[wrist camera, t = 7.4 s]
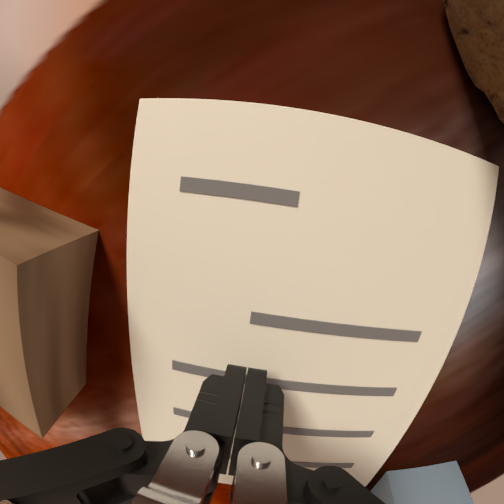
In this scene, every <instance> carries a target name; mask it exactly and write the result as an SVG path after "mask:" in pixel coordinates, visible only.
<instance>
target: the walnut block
mask: <svg viewBox="0 0 504 504" xmlns="http://www.w3.org/2000/svg"><path fill="white" fill-rule="evenodd" d="M98 232H99V230H97V229H95V228H92V227H90V226H87V225H85V224H83V223H80V222H78V221H75V220H73V219H71V218H68V217H66V216H64V215H61V214H59V213H57V212H54V211H52V210H50V209H47V208H45V207H43V206H40V205H38V204H36V203H34V202H31V201H29V200H27V199H25V198H22V197H20V196H18V195H16V194H13V193H11V192H9V191H7V190H5V189H2V188H0V406H1V407H2V408H3V409H4V410H5V411H7V412H8V413H9V414H10V415H12V416H13V417H14V418H15V419H17V420H18V421H19V422H21V423H22V424H23V425H25V426H26V427H27V428H29V429H30V430H31V431H33V432H34V433H36V434H37V435H38V436H40V437H41V438H43V437H44V436H45V434H46V433H47V432H48V431H49V429H50V428H51V427H52V425H53V424H54V423H55V422H56V420H57V419H58V418H59V417H60V415H61V414H62V413H63V412H64V410H65V409H66V408H67V407H68V405H69V404H70V403H71V402H72V401H73V399H74V398H75V397H76V396H77V394H78V393H79V392H80V391H81V390H82V388H83V387H84V386H85V385H86V357H87V329H88V314H89V301H90V291H91V281H92V273H93V265H94V258H95V251H96V245H97V238H98Z"/></svg>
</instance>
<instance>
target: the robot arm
mask: <svg viewBox="0 0 504 504" xmlns="http://www.w3.org/2000/svg"><path fill="white" fill-rule="evenodd" d="M246 370H247V367H243V366H237V365H232V364H228V365H227V368H226V372H225V375H224V376H220V375H215V374H211V375H210V376H209V377H208V378H206V379H205V380H204V381H203V383H202V386H201V388H200V391H199V393H198V396H197V399H196V401H195V404H194V406H193V409H192V412H191V414H190V417H189V419H188V422H187V425H186V427H185V429H184V431H183V432H182V433H181V434H179V435H177V436H176V437H175V438H174V439H172V440H169V441H144V439H143V437H142V436H141V435H140V434H139V433H137V432H136V431H134V430H131V429H128V428H115V429H112V430H109V431H106V432H103V433H100V434H97V435H94V436H91V437H88V438H85V439H82V440H79V441H75V442H72V443H69V444H65V445H62V446H59V447H55V448H51V449H48V450H44V451H40V452H36V453H32V454H28V455H24V456H19V457H15V458H10V459H6V460H1V461H0V504H210V503H211V500H212V497H213V494H214V491H215V489H216V487H217V484H218V479H219V475H220V474H225V475H226V473H227V468H228V463H229V459H230V454H231V449H232V454H231V460H230V466H229V472H228V475H231V476H234V477H233V482H232V487H231V492H230V499H229V504H385V503H384V502H383V501H382V500H380V499H379V498H378V497H377V496H375V495H374V494H373V493H372V492H371V491H369V490H368V489H367V488H366V487H365V486H363V485H362V484H361V483H360V482H359V481H357V480H356V479H355V478H354V477H353V476H352V475H351V474H349V473H348V472H347V471H346V470H344V469H342V468H340V467H336V466H322V467H319V468H317V469H316V470H310V469H307V468H304V467H301V466H299V465H296V464H295V463H293V462H292V461H290V460H289V459H288V458H287V457H286V455H285V454H284V451H283V447H282V442H283V419H284V415H283V414H284V393H283V392H282V390H281V388H280V386H279V385H274V384H267V383H266V379H267V370H262V369H256V368H249V367H248V372H247V377H246V382H245V376H246ZM244 382H245V387H244ZM243 388H244V392H243ZM242 394H243V397H242ZM241 400H242V402H241ZM240 406H241V407H240ZM239 411H240V412H239ZM238 416H239V417H238ZM237 420H238V422H237ZM236 425H237V427H236ZM235 430H236V432H235ZM234 435H235V436H234ZM233 440H234V442H233ZM232 444H233V448H232Z"/></svg>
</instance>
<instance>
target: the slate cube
mask: <svg viewBox="0 0 504 504" xmlns="http://www.w3.org/2000/svg"><path fill="white" fill-rule="evenodd" d="M371 492H372V493H373V494H374V495H375V496H377V497H378V498H379V499H380V500H382V501H383V502H384V503H385V504H474V503H473V500H472V498H471V495H470V492H469V490H468V487H467V485H466V482H465V480H464V478H463V475H462V473H461V471H460V468H459V466H458V464H457V461H452V462H447V463H442V464H437V465H431V466H425V467H419V468H412V469H404V470H395V471H387V472H386V473H385V474H384V475H383V477H382V478H381V479H380V480H379V481H378V483H377V484H376V485H375V486H374V487H373V489H372V490H371Z"/></svg>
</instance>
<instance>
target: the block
mask: <svg viewBox="0 0 504 504" xmlns="http://www.w3.org/2000/svg"><path fill="white" fill-rule="evenodd" d="M442 3H443V7H444V9H445V11H446V14H447V19H448V23H449V27H450V30H451V32H452V35H453V38H454V41H455V44H456V46H457V49H458V51H459V54H460V56H461V59H462V62H463V64H464V67H465V69H466V71H467V73H468V75H469V76H470V78H471V80H472V82H473V83H474V85H475V86H476V87H477V88H479V89H480V90H481V91H483V92H484V93H485V95H486V96H487V98H488V100H489V101H490V102H491V104H492V105H493V107H494V109H495V111H496V113H497V116H498V118H499V119H500V120H501V122H502V123H503V124H504V0H442Z"/></svg>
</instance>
